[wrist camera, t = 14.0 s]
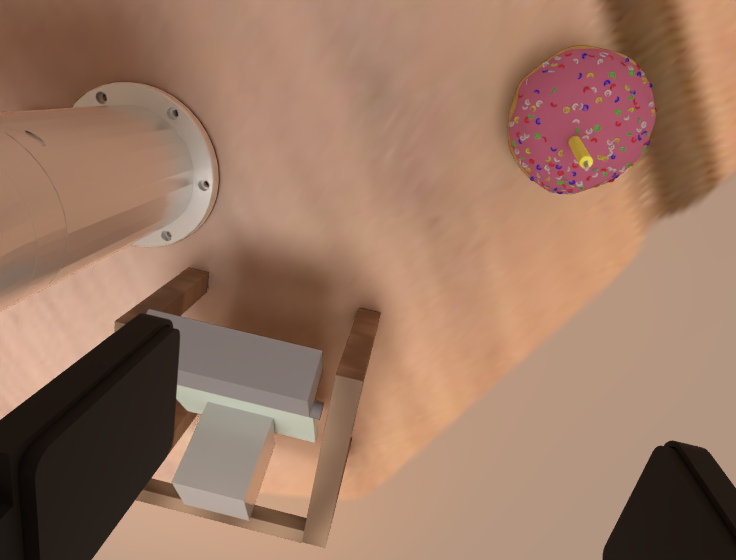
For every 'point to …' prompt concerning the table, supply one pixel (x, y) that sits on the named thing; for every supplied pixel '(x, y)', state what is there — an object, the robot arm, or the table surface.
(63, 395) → the robot arm
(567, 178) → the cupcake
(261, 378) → the trapdoor
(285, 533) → the stand
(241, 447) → the stone
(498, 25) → the table surface
